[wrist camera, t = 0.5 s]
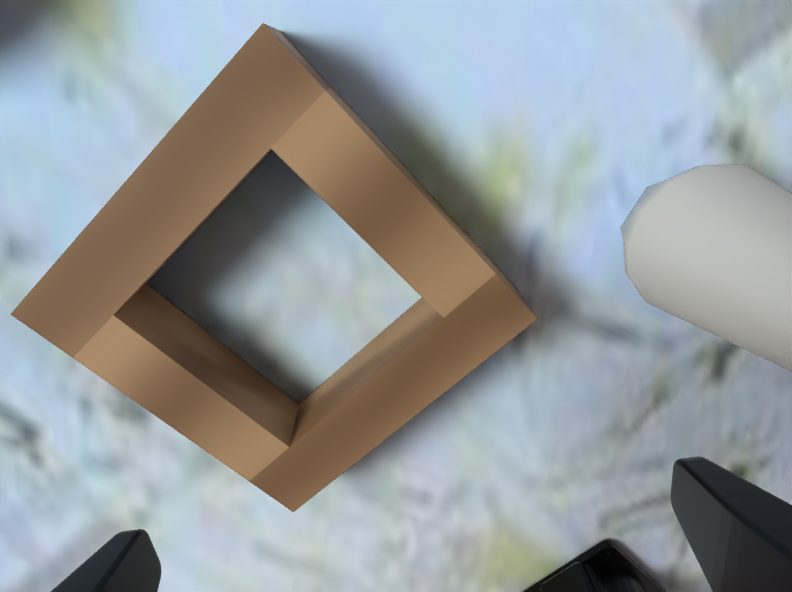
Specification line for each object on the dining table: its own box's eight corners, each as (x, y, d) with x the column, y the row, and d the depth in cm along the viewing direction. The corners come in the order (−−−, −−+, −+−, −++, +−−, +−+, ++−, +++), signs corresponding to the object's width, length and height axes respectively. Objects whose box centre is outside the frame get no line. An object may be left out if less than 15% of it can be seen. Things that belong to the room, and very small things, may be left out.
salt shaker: (682, 121, 20) (1158, 201, 8) (770, 212, 21) (1275, 392, 9) (571, 239, 21) (825, 451, 9) (660, 315, 23) (972, 577, 11)
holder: (516, 288, 22) (537, 318, 19) (301, 464, 25) (293, 512, 23) (279, 30, 18) (263, 23, 15) (57, 282, 21) (10, 314, 18)
